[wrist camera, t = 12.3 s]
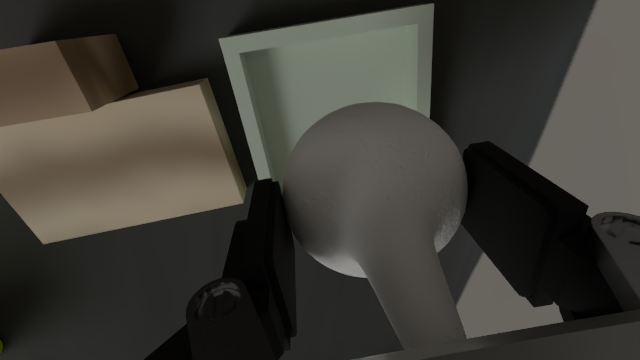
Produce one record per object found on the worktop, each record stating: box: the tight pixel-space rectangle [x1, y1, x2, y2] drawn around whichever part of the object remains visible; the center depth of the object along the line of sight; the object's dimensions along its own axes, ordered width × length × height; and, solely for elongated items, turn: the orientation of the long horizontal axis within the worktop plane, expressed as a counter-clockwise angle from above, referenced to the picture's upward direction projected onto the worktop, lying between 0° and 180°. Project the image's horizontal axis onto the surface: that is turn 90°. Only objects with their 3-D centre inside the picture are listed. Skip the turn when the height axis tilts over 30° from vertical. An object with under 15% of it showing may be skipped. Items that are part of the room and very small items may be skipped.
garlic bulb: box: [282, 102, 468, 350], centre depth 9 cm, size 6×6×8 cm
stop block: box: [0, 34, 139, 127], centre depth 15 cm, size 3×5×5 cm, turn 98°
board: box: [0, 78, 247, 244], centre depth 20 cm, size 8×14×2 cm, turn 100°
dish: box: [219, 3, 434, 197], centre depth 19 cm, size 11×11×2 cm
